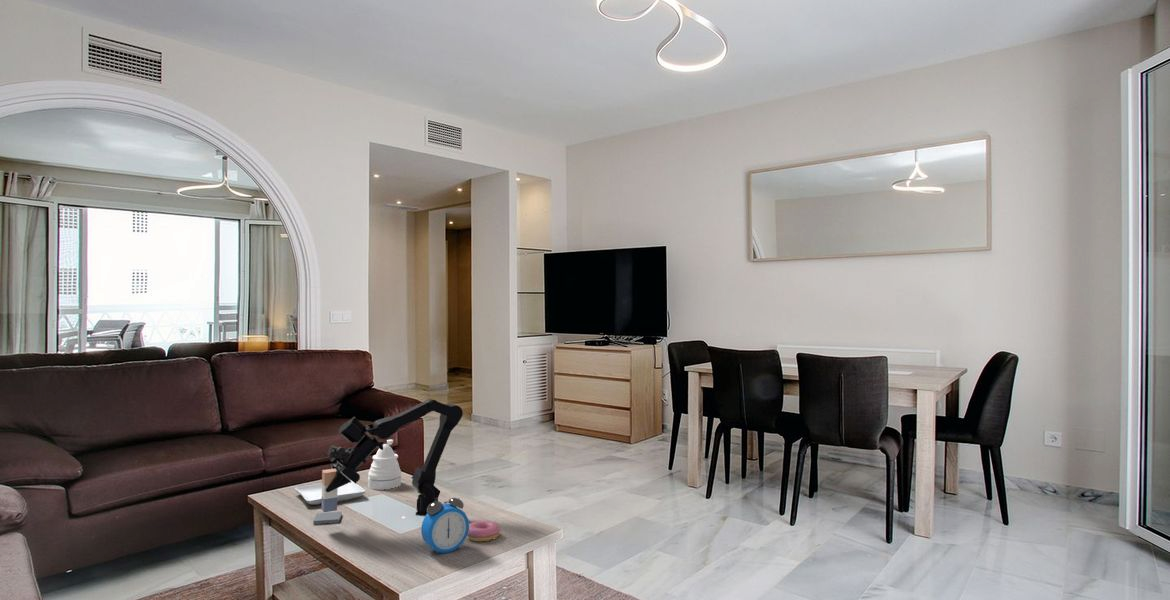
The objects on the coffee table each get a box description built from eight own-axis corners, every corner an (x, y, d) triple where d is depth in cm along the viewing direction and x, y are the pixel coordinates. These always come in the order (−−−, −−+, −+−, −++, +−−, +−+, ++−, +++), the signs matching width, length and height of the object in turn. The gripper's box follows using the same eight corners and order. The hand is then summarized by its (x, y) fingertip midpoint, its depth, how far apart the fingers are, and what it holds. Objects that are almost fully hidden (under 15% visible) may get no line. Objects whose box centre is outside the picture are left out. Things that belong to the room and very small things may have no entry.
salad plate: (293, 495, 240) (293, 486, 240) (350, 486, 252) (350, 478, 252) (306, 510, 223) (307, 500, 223) (367, 499, 235) (367, 490, 235)
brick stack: (334, 506, 205) (335, 468, 206) (337, 510, 202) (337, 471, 202) (321, 508, 203) (322, 470, 203) (323, 512, 200) (324, 472, 200)
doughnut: (490, 545, 192) (490, 532, 192) (458, 540, 195) (458, 527, 195) (505, 533, 202) (505, 520, 202) (475, 529, 206) (475, 516, 206)
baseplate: (341, 515, 217) (341, 511, 217) (339, 522, 209) (339, 519, 209) (316, 516, 215) (316, 513, 215) (313, 524, 207) (313, 521, 207)
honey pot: (393, 479, 263) (394, 436, 263) (406, 486, 253) (407, 441, 253) (363, 484, 254) (363, 440, 255) (375, 491, 245) (376, 445, 245)
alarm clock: (428, 558, 181) (429, 506, 181) (419, 551, 186) (420, 501, 186) (469, 548, 189) (470, 498, 189) (460, 542, 194) (461, 493, 194)
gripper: (337, 431, 213) (301, 468, 207) (349, 441, 197) (311, 481, 191) (360, 451, 217) (326, 488, 211) (374, 463, 202) (338, 503, 195)
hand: (325, 489), depth 202 cm, fingers closed on brick stack, 4 cm apart
